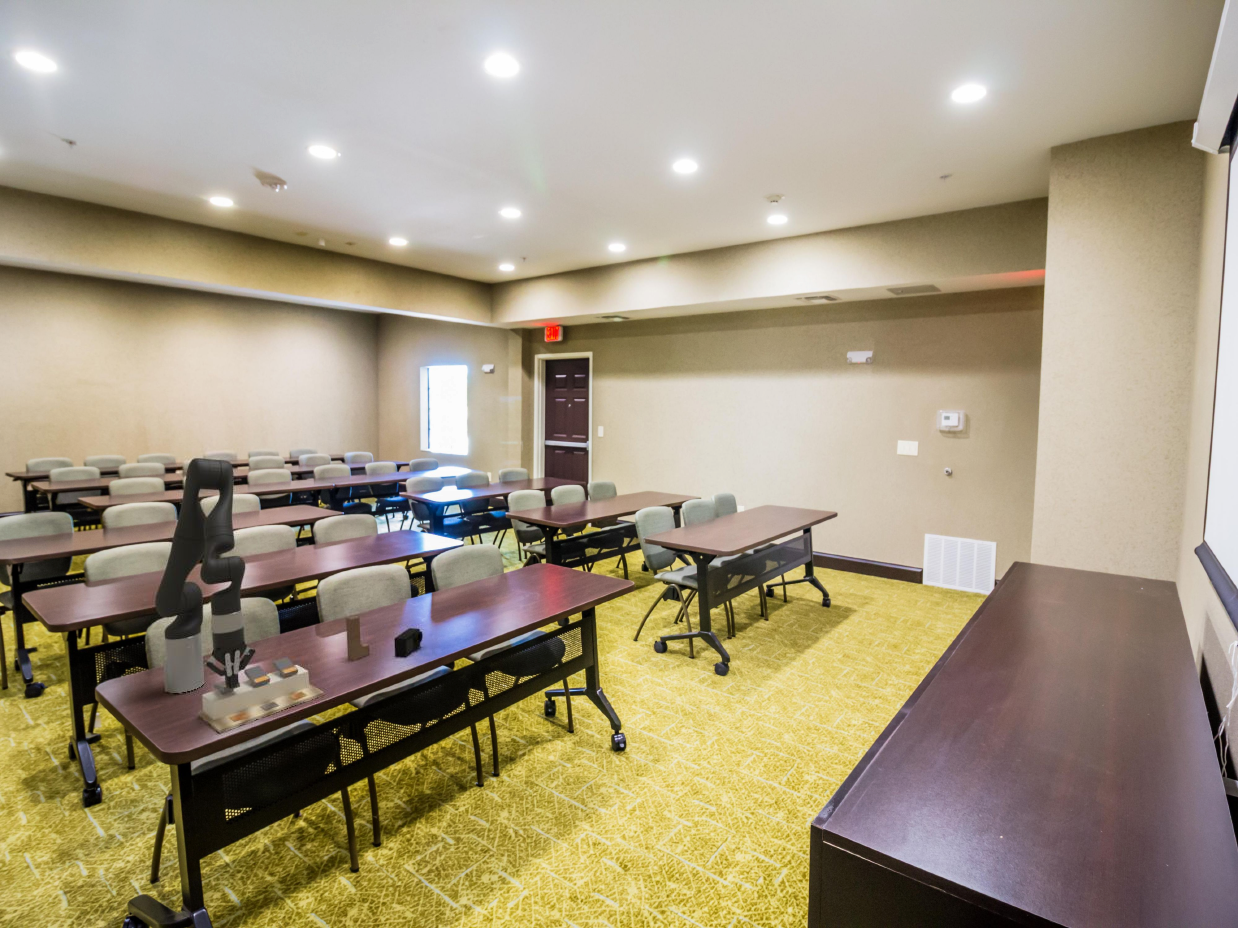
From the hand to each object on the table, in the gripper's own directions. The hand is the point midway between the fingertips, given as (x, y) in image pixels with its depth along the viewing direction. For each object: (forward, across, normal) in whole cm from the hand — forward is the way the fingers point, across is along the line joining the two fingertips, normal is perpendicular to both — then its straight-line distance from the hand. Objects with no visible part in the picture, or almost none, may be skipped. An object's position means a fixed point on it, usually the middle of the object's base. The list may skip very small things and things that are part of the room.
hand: (232, 686), depth 170 cm
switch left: (0, 0, +4) cm, 4 cm away
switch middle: (0, +8, +4) cm, 9 cm away
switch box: (+8, +8, +4) cm, 12 cm away
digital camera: (+9, +57, +2) cm, 58 cm away
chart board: (+9, +8, +1) cm, 12 cm away
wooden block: (+9, +44, +12) cm, 46 cm away
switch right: (+1, +16, +4) cm, 16 cm away
